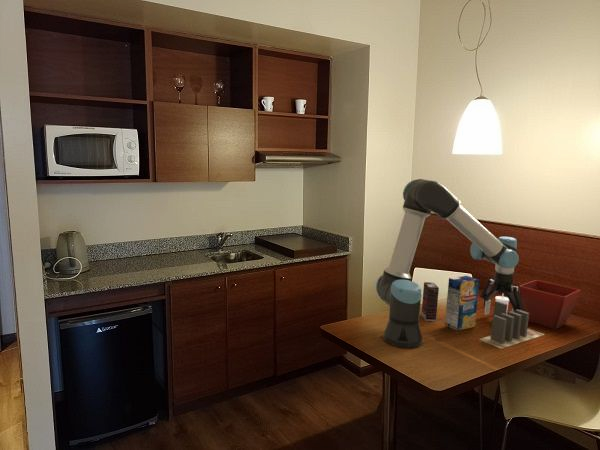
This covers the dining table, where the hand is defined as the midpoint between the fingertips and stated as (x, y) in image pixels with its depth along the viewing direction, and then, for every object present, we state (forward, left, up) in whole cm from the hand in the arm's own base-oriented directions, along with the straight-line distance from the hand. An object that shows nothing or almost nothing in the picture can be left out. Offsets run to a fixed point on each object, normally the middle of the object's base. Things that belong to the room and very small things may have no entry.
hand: (499, 318), depth 196 cm
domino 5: (-5, -13, -2) cm, 14 cm away
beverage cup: (+10, +6, -3) cm, 12 cm away
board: (-10, -13, -3) cm, 17 cm away
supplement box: (-23, +20, -3) cm, 31 cm away
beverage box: (-20, +5, -3) cm, 21 cm away
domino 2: (-20, -13, -2) cm, 24 cm away
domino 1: (0, 0, -3) cm, 3 cm away
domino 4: (-10, -13, -2) cm, 16 cm away
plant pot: (+21, -9, -3) cm, 23 cm away
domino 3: (-15, -13, -2) cm, 20 cm away
